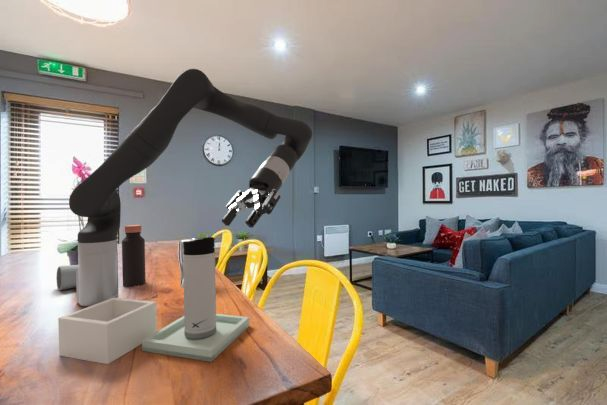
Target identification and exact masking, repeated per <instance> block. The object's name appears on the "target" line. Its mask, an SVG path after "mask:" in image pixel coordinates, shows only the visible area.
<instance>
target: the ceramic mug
mask: <svg viewBox="0 0 607 405" xmlns="http://www.w3.org/2000/svg"><path fill="white" fill-rule="evenodd" d="M77 269H78V264H72V265H71V264H69V265H59V266H58V267H57V269H56V286H57V290H58V291H64V290H69V289H70V290H71V289H74V288H76V270H77Z"/></svg>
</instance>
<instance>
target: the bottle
mask: <svg viewBox="0 0 607 405" xmlns="http://www.w3.org/2000/svg"><path fill="white" fill-rule="evenodd" d="M141 234H142V225H141V224H131V225H125V226H124V235H125V237H124V238H123V239H122V240H121V258H122V259H121V261H122V262H121V264H122V266H121V268H122V286H123V287H125V288H126V287H127V288H129V287H132V288H133V287H138V285H139V286H141V285H144V284H145V283H146V280H147V279H146V244H145V243H146V242H145V238H143V237H142V236H141Z"/></svg>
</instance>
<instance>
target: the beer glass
mask: <svg viewBox="0 0 607 405" xmlns="http://www.w3.org/2000/svg"><path fill="white" fill-rule="evenodd" d="M194 240H199V238H185V239H179V240H178V241H177V242H178V243H177V245H178V246H177V257H178V258H177V260H178V263H179V271H180V281H179V286H180V287H181V288H184V275H183V257H184V256H183V251H184V249H183V242H185V241H194Z"/></svg>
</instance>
